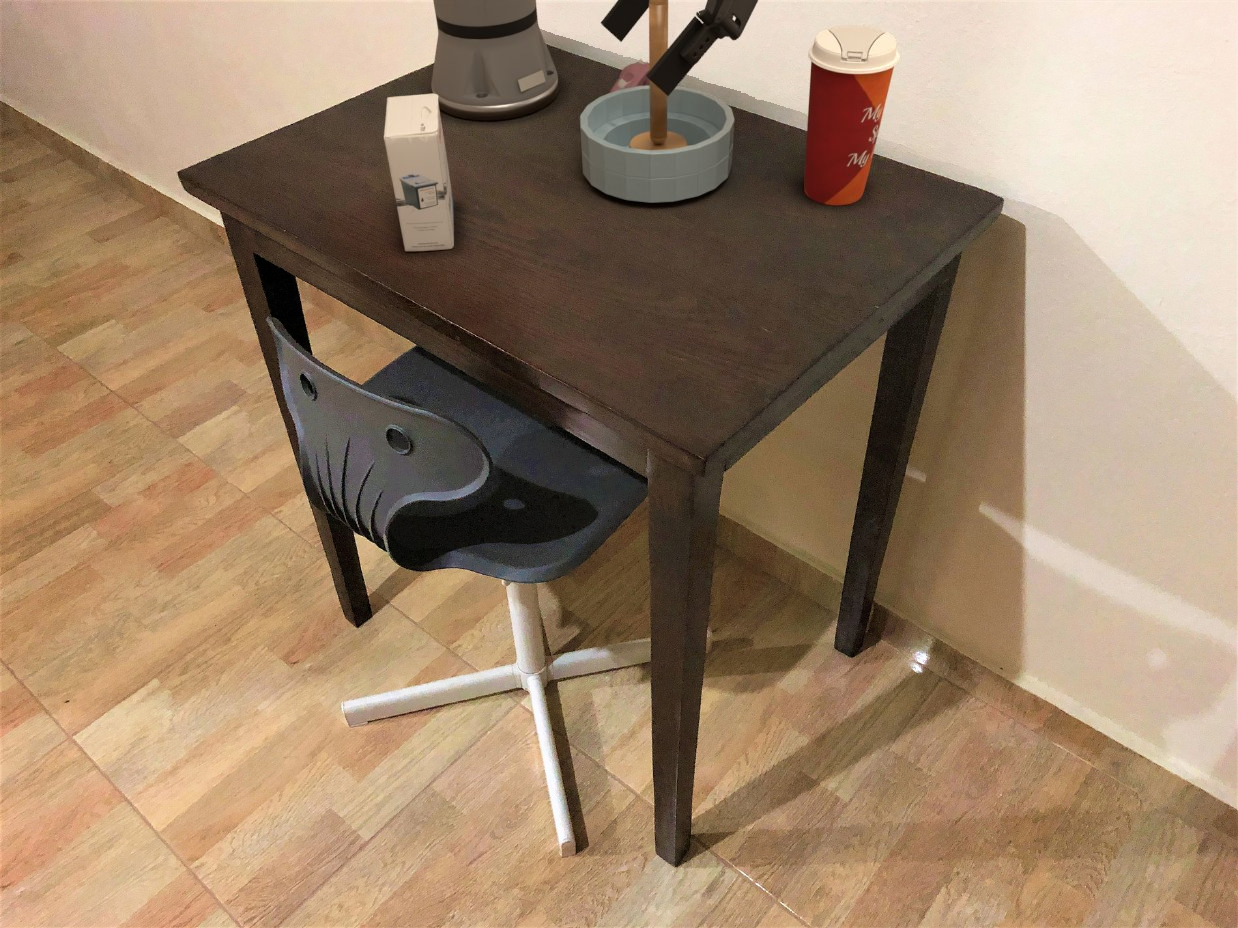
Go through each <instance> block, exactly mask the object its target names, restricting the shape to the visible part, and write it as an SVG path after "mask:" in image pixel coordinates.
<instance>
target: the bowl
mask: <svg viewBox="0 0 1238 928" xmlns="http://www.w3.org/2000/svg"><path fill="white" fill-rule="evenodd" d="M735 120H736V119H735V116H734V113H733V110H732V108H731V106H730V105H728V104H727V103H726V102H725V101H724V100H723V99H721V98H720V97H717V96H715V95H713V94H711V93H709V92H706V91H704V90H699V89H695V88H692V87H688V86H683V85H682V86H681V85H677V86H676V88H675V89H674V90H673V91H672V92H671V94H670V95H669V96H668V99H667V131H669V132H674V133H677V134H679V135H681V136H683V137H684V138H685V139H686V141H687V146H686V147H681V148H676V149H667V150H642V149H633V148H630V142H631V140H632V139H633V138H634V137H635V136H637V135H639V134H641V133H645V132H649V131H650V91H649V86H637V87H632V88H627V89H621V90H617V91H614V92H612V93H610V92H608V93H606V94H603V95H601V96H599V97H598V98H596V99H595V100H593V101H591V102H590V103H588V104H587V105H586V106H585V108H584V110H583V111H582V112H581V114H580V116H579V127H580V144H581V145H580V146H581V147H580V148H581V159H582V160H581V161H582V174H583V176H584V177H585V179H586V180H587V181H588V182H589V184H590V185H591V186H592V187H594V188H596V189H597V190H599V191H600V192H602V193H604V195H608V196H612V197H615V198H618V199H621V200H625V201H631V202H640V203H641V202H642V203H648V204H650V203H651V204H653V203H674V202H678V201H684V200H687V199H691V198H696V197H700V196H702V195H704V194H707V193H708V192H710V191H713V190H716V189H717V188H718V187H719V186H720V185H721V184H722V183H723V182H725V181H726V180H727V179H728V177H729V175H730V172H731V169H732V165H733V151H734V150H733V149H734V137H735V135H734V134H735Z"/></svg>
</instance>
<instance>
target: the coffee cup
mask: <svg viewBox="0 0 1238 928" xmlns="http://www.w3.org/2000/svg"><path fill="white" fill-rule="evenodd" d="M807 56H808V57H807V58H808V59H809V60H810V73H809V74H810V76H809V77H810V78H809V93H808V110H807V123H806V125H807V126H806V141H805V142H806V143H805V158H804V159H805V160H804V180H803V181H804V183H803V184H804V185H803V186H804V189H803V190H804V193H805V195H806V196H807V197H808V198H809V199H811V200H812V201H813V202H816V203H819V204H822V205H827V206H828V205H829V206H845V205H846V206H847V205H851V204H854V203H856V202H857V201H859V200H860V199H861V198H862V197H863V195H864V192H865V188H866V185H867V182H868V177H869V173H870V169H871V165H872V160H873V157H874V153H875V148H876V144H877V140H878V137H879V136H878V135H879V133H880V132H879V131H880V127H881V123H882V119H883V116H884V110H885V107H886V103H887V98H888V94H889V89H890V85H891V80H892V77H893V73H894V68H895V66H897V64H899V62H900V53H899V51H898V43H897V39H896V37H895V36H893V35H892V34H891V33H890V32H888V31H885V30H882V29H879V28H876V27H873V26H872V27H871V26H866V25H840V26H834V27H829V28H825V29H824V30H822V31H820V32H819V33H818V34H817V35H816V36H815V38H814V41H813V44H812V45H811V47H809V50H808V52H807Z"/></svg>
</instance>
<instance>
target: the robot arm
mask: <svg viewBox="0 0 1238 928" xmlns="http://www.w3.org/2000/svg"><path fill="white" fill-rule="evenodd" d="M432 1H433V7H434V14H435V20H436V26H437V39H436V40H437V41H436V47H435V54H434V61H433V67H432V68H433V70H432V76H431V91H432V94H437V95H438V104H439V110H441V111H442V112H444V113H446V114H448V115H451V116H454V117H457V118H461V119H465V120H466V119H467V120H474V121H498V120H507V119H514V118H519V117H523V116H526V115H529V114H532V113H534V112H538V111H539V110H541V109H543V108H545V107H546V106H548V105H550V104H551V103H552V102H553V101H554V100H555V99H556V98H557V96H558V95H559V89H560V88H559V77H558V71H557V68H556V65H555V63H554V60H553V58H552V56H551V53H550V51H549V48H548V46H547V43H546V41H545V39H544V36H543V33H542V31H541V28H540V25H539V18H538V9H537V0H432ZM758 1H759V0H707V1H706V4H705V6H704V9H701V10H699V11H696V12H695V15H694V16H693V17H692V19H691V20H690V21H689V22H688V24H687V25H686V26H685V27H684V28H683V30H682V31H681V32H680V34H679V35H678V36H677V37H676V38H675V40H673V42H672V43H671V44H670V46H668V49H667V51H666V52H665V53H664V54H663V56H662V57H661V58H660V59H659V60H658V62H657V63H656V64H655V65H654V67H653V68H652V69H651V70H650V71H649V73H648V74H647V75H646V76H647V77H648V79H649V80H650V81H652V82H653V83H654V84H655V85H656V86H657V87H658V88H659V89H661V90H662V91H663V92H664V93H665V94H666V95H667V96H669V95H670V94H671V92H672V91H673V90H674V89H675V88H676V86H679V85H680V83H681V82H682V81H683V79H684V78H685V77H686V76H687V75H688V73H689V72H690V71H691V70H692V68H693V67H694V66H695V65H697V64H698V63H699V62H700V60H701V59H702V58H703V57H704V56H705V54H706V53H707V52H708V50H710V48H711V47H712V46H713V45H714V43H715V42H716V41H718V39H719V40H723V39H724V38H730V39H731V40H732V41H737V40H738V39H739V38H741V36H742V34H743V32H744V30H745V29H746V26H747V24H748V22H749V20H750V18H751V16H752V14H753V12H754V10H755V8H756V6H757V4H758ZM647 10H649V0H617V1H616V2H615V3H614V5H613V6H612V7H611V8H610V10H609V11H608V12H607V14H606V15H605V16H604V18H603V19H602V20H601V22H600V24H601V25H602V27H603V28H605V29H606V30H607V31H608V32H609V33H610V34H611V35H612V36H613V37H615V39H616V40H618V41H619V42H620V43H622V42H623V40H625V38H626V37H627V36H628V34H629V33H630V31H631V30H632V29H633V28H634V27H635V25H636V24H637V23H638V22H639V21H640V20H641V18H642V17H643V16H644V14H645V13H646V12H647ZM734 18H735V19H734Z"/></svg>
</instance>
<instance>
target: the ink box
mask: <svg viewBox="0 0 1238 928" xmlns="http://www.w3.org/2000/svg"><path fill="white" fill-rule="evenodd" d="M385 109H386V110H385V120H384V121H385V122H384V131H383V141H384V146H385V151H386V156H387V161H388V165H389V166H388V167H389V173H390V177H391V182H392V188H393V192H394V198H395V203H396V209H397V215H398V220H399V226H400V231H401V236H402V242H403V246H404V251H405V252H427V251H441V250H452V249H453V248H454V247H455V224H454V221H455V219H454V218H455V217H454V216H455V215H454V197H453V191H452V184H451V183H452V182H451V178H450V170H449V163H448V156H447V151H446V142H445V136H444V131H443V124H442V118H441V112H440V110H441V109H440V108H439V104H438V95H437V94H433V93H423V94H412V95H410V94H409V95H399V96H389V97H387V98H386V108H385Z"/></svg>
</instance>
